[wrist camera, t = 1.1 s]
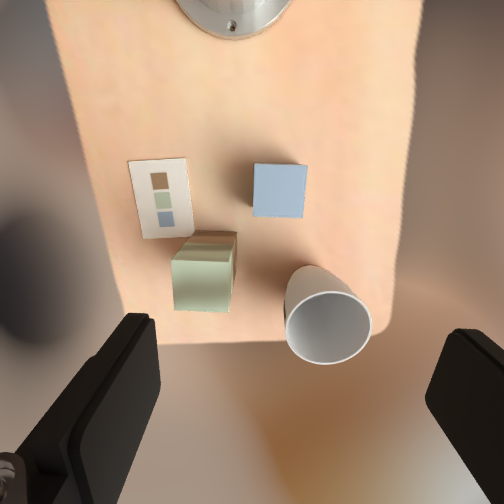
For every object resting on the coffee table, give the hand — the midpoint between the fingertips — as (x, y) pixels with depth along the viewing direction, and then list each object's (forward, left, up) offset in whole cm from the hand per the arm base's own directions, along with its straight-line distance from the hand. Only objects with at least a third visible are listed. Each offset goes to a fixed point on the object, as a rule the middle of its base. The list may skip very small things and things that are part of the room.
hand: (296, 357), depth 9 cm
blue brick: (-3, +1, -25) cm, 25 cm away
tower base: (+5, -6, -25) cm, 26 cm away
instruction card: (-1, -12, -25) cm, 28 cm away
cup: (+9, +6, -25) cm, 27 cm away
